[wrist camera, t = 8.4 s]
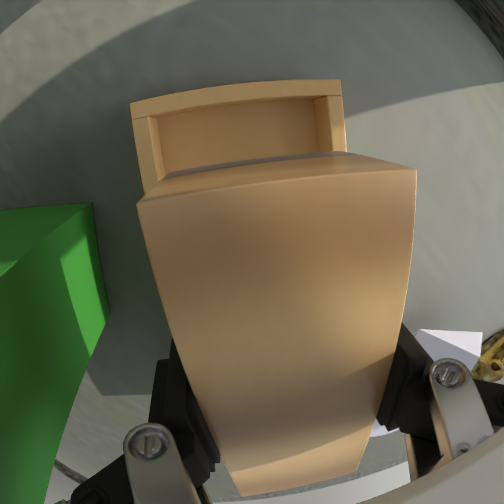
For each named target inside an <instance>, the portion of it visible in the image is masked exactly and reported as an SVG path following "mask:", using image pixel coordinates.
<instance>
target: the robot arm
mask: <svg viewBox="0 0 504 504" xmlns="http://www.w3.org/2000/svg"><path fill="white" fill-rule="evenodd" d="M376 419H377V421H378V423H379V424H380V425H381V426H383V425H385V427H386V429H387V431H388V432H389V431H392V430H394V429H397V428H399V429H400V431H401V432H403V433H404V438H405V444H406V450H407V457H408V463H409V471H410V479H411V482H410V483H408V484H406V485H403V486H401V487H399V488H397V489H394V490H392V491H390V492H387V493H385V494H382V495H379V496H377V497H374V498H372V499H369V500H366V501H364V502H360V503H357V504H504V385H502V384H497V383H492V382H487V381H483V380H478V379H473V378H472V375H471V373H470V371H469V369H468V368H467V366H466V365H465V364H464V363H462V362H461V361H459V360H457V359H453V358H442V359H439V360H437V361H435V362H434V361H433V359H432V358H431V357H430V356H429V354H428V353H427V352H426V351H425V349H424V348H423V347H422V346H421V345H420V343H419V342H418V341H417V340H416V339H415V337H414V336H413V335H412V334H411V333H410V331H409V330H408V329H407V328H406V327H405V326H404V324H403V323H402V322H401V327H400V332H399V336H398V341H397V345H396V350H395V353H394V357H393V361H392V365H391V369H390V372H389V376H388V380H387V383H386V387H385V390H384V394H383V397H382V401H381V404H380V407H379V410H378V413H377V416H376ZM123 451H124V454H123V455H121V456H120V457H119V458H117V459H116V460H115V461H113V462H112V463H111V464H109V465H108V466H106V467H105V468H104V469H102V470H101V471H99V472H98V473H97V474H95V475H94V476H92V477H91V478H89V479H88V480H86V481H85V482H83V483H82V484H81V485H79V486H78V487H77V488H76V489H75V490H74V491H73V493H72V495H71V499H70V500H69V501H65V500H64V499H63V500H61V501H59V502H57V503H55V504H213V503H212V501H211V499H210V497H209V494H208V492H207V490H206V487H205V485H204V482H205V481H207V480H208V479H209V478H210V472H215V463H220V452H219V450H218V448H217V446H216V444H215V441H214V439H213V437H212V435H211V432H210V430H209V428H208V426H207V423H206V421H205V419H204V416H203V414H202V411H201V409H200V407H199V404H198V402H197V399H196V397H195V396H194V394H193V391H192V388H191V386H190V383H189V381H188V378H187V375H186V373H185V370H184V367H183V365H182V362H181V359H180V356H179V354H178V351H177V348H176V345H175V342H174V339H173V336H172V343H171V350H170V358H169V359H163V360H159V361H158V362H157V366H156V372H155V378H154V385H153V391H152V398H151V405H150V412H149V420H148V423H143V424H141V425H138V426H136V427H134V428H133V429H132V430H130V431H129V433H128V434H127V435H126V437H125V439H124V442H123Z"/></svg>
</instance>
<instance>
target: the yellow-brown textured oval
mask: <svg viewBox="0 0 504 504" xmlns="http://www.w3.org/2000/svg"><path fill="white" fill-rule="evenodd" d="M470 373H471V375H472V378H473V379H478V380H483V381H487V382H492V383H493V382H495V381H498V380H500V379H501V378H502V377H503V376H504V330H502V331H501V332H499V333H497V334H495V335H494V336H493V337H491V338H490V339H489V340H488V341H487V342H485V343H484V344H483V345H482V346H481V354H480V358H479V360H478V361H477V363H476V364H475V366H474V367H473V368H472V370H471V371H470Z"/></svg>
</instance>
